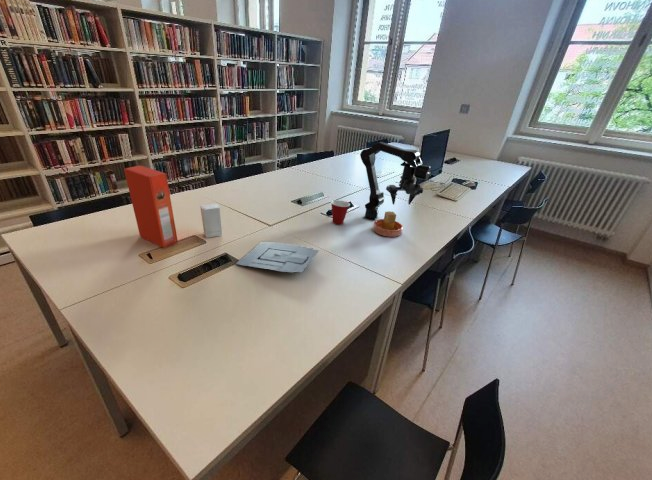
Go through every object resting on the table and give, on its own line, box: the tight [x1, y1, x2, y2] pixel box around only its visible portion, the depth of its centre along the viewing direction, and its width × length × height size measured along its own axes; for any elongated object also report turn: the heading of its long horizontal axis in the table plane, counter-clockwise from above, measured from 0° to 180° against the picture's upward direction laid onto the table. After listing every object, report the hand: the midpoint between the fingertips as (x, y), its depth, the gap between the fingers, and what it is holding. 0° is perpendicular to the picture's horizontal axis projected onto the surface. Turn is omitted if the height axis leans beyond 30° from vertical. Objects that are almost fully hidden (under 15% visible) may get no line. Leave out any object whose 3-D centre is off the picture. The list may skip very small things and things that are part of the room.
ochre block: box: [382, 211, 397, 230], centre depth 172 cm, size 4×4×10 cm
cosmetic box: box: [199, 203, 223, 239], centre depth 154 cm, size 8×6×15 cm
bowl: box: [372, 218, 403, 238], centre depth 174 cm, size 15×15×4 cm
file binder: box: [123, 165, 179, 249], centre depth 142 cm, size 8×17×32 cm, turn 56°
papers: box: [235, 240, 320, 274], centre depth 140 cm, size 24×30×4 cm
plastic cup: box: [330, 199, 351, 226], centre depth 177 cm, size 11×11×12 cm
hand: (401, 204), depth 175 cm, fingers open, 9 cm apart
